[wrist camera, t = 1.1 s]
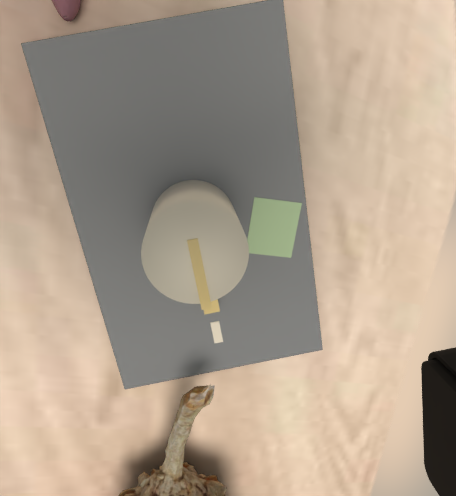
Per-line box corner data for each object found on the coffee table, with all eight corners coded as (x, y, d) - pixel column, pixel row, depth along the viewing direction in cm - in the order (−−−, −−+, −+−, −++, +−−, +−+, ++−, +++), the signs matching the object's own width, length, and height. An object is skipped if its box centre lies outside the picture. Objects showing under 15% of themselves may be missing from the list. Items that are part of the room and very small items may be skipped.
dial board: (30, 47, 24) (20, 43, 22) (277, 3, 24) (282, -3, 23) (127, 376, 31) (124, 389, 30) (316, 338, 32) (322, 350, 30)
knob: (143, 186, 25) (129, 214, 19) (226, 171, 26) (240, 193, 19) (173, 313, 28) (170, 374, 22) (248, 299, 28) (266, 355, 22)
